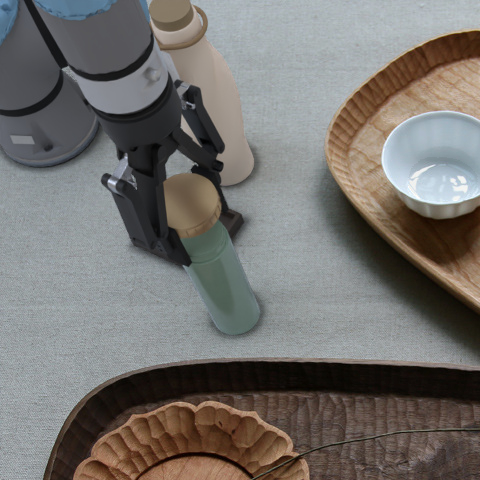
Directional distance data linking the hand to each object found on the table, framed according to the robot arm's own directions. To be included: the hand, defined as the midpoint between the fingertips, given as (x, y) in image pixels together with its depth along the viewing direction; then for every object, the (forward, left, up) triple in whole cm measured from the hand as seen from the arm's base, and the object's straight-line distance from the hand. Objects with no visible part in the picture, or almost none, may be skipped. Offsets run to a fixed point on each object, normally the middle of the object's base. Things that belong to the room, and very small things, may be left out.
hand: (199, 233), depth 92 cm
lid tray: (-13, +8, -19) cm, 24 cm away
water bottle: (-14, +20, -19) cm, 31 cm away
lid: (0, 0, +6) cm, 6 cm away
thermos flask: (0, 0, -19) cm, 19 cm away
